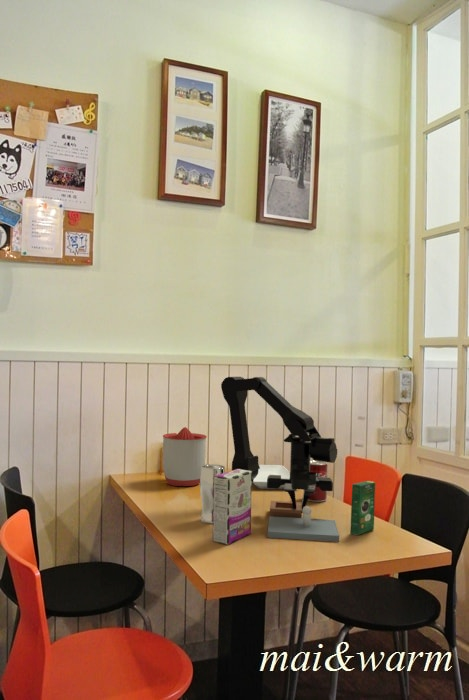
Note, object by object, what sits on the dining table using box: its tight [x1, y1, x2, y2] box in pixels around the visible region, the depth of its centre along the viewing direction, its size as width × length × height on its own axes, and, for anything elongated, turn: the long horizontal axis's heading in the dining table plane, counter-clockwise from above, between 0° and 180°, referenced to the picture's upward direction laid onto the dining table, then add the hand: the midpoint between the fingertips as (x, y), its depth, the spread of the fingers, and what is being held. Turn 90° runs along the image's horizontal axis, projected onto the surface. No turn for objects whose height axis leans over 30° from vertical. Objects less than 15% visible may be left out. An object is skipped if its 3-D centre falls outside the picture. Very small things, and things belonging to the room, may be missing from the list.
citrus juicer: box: [162, 426, 207, 487], centre depth 206 cm, size 16×17×20 cm
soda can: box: [307, 460, 329, 503], centre depth 188 cm, size 7×7×12 cm
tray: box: [252, 464, 290, 490], centre depth 214 cm, size 17×32×4 cm, turn 6°
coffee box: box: [349, 480, 376, 536], centre depth 155 cm, size 8×3×13 cm, turn 136°
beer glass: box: [199, 463, 226, 525], centre depth 161 cm, size 7×7×15 cm
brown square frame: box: [269, 500, 303, 518], centre depth 168 cm, size 9×9×3 cm
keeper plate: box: [267, 505, 340, 543], centre depth 153 cm, size 18×14×7 cm
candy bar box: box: [212, 469, 253, 546], centre depth 146 cm, size 11×5×16 cm, turn 148°
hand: (298, 512), depth 167 cm, fingers closed on brown square frame
